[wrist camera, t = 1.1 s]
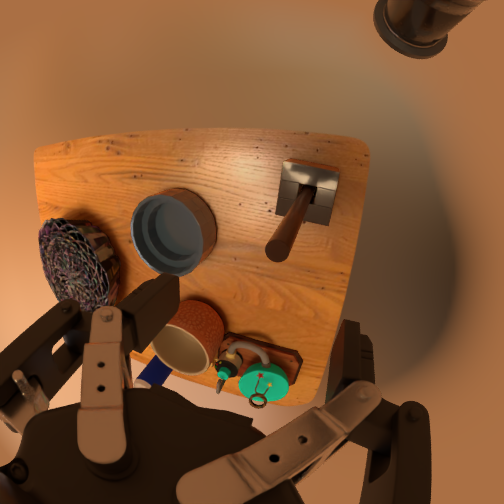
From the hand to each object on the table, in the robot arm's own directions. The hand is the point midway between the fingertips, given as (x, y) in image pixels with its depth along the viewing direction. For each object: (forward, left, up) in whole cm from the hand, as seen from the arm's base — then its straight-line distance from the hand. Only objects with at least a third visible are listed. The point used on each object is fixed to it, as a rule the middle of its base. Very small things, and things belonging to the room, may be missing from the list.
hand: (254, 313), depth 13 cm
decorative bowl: (+25, -46, -33) cm, 62 cm away
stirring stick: (0, 0, -32) cm, 32 cm away
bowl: (+11, -21, -32) cm, 40 cm away
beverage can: (+42, -23, -33) cm, 58 cm away
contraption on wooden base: (+36, -3, -33) cm, 48 cm away
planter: (+30, -16, -33) cm, 47 cm away
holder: (0, 0, -32) cm, 32 cm away
